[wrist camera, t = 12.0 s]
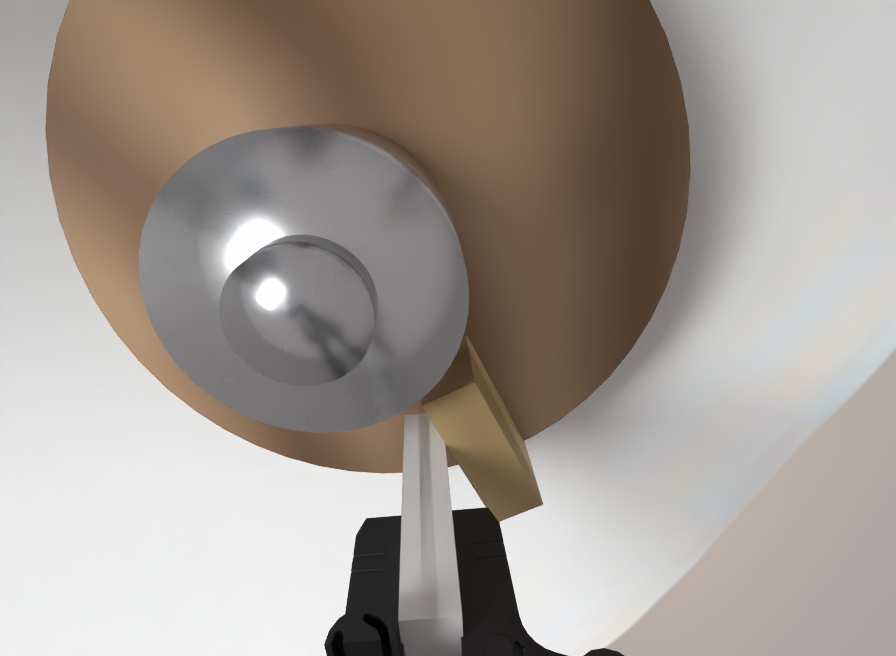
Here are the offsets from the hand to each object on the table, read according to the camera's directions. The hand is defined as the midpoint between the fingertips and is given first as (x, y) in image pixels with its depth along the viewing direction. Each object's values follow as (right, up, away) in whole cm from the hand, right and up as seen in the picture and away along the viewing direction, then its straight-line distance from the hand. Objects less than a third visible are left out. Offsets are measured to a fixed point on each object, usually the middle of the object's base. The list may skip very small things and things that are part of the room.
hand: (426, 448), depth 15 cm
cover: (-3, +6, -1) cm, 7 cm away
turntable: (-1, +8, +1) cm, 8 cm away
